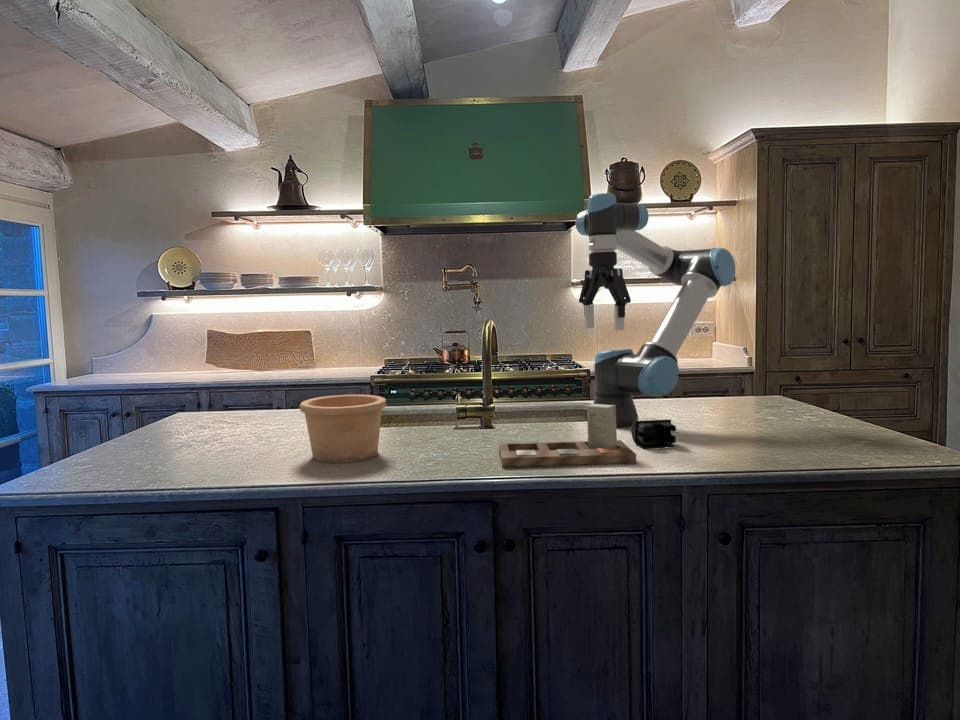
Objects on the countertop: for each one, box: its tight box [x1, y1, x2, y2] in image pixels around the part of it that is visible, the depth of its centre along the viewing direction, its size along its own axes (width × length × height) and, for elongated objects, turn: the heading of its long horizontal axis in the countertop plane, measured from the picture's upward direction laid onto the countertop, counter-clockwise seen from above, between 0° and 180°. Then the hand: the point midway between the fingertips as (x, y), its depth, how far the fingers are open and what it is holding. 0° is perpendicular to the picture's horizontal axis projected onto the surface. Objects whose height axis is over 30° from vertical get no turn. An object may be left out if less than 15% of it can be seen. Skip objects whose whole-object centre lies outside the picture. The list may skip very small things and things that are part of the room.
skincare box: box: [586, 403, 618, 449], centre depth 163 cm, size 6×4×12 cm
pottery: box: [299, 394, 387, 464], centre depth 167 cm, size 22×22×14 cm
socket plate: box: [498, 439, 637, 469], centre depth 160 cm, size 32×15×3 cm, turn 92°
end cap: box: [631, 419, 677, 450], centre depth 171 cm, size 10×7×7 cm
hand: (604, 329), depth 179 cm, fingers open, 13 cm apart
